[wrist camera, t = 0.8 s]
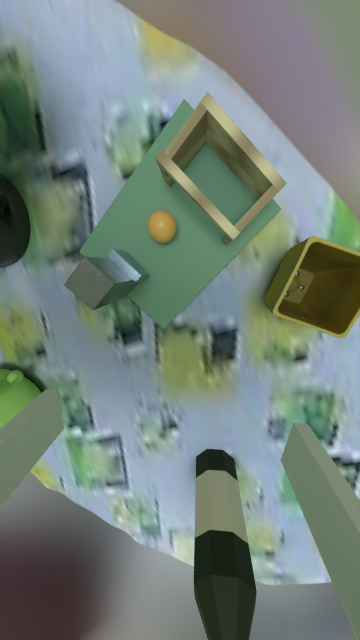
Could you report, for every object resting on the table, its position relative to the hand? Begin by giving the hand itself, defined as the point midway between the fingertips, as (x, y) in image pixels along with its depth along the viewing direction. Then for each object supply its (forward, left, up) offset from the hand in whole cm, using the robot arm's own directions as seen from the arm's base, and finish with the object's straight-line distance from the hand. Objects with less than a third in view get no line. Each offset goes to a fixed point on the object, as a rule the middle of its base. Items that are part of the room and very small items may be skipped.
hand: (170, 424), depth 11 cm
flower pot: (+7, +15, -22) cm, 28 cm away
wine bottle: (+26, -19, -22) cm, 39 cm away
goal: (-10, +16, -22) cm, 29 cm away
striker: (-12, -2, -21) cm, 24 cm away
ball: (-12, +7, -19) cm, 24 cm away
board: (-11, +8, -22) cm, 26 cm away
